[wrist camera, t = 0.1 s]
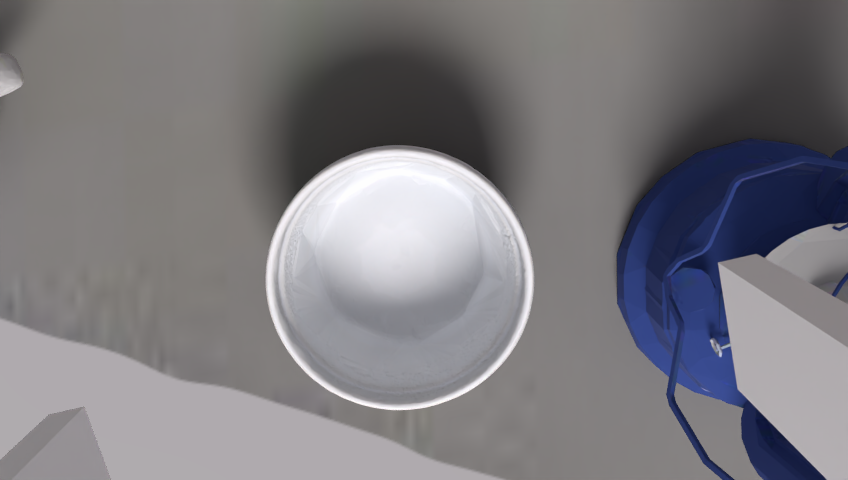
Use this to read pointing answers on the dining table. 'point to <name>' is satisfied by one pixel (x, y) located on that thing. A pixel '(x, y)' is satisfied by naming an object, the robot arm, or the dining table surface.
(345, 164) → the ramekin
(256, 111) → the dining table surface
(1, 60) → the teacup
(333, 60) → the dining table surface
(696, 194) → the lantern
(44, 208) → the dining table surface
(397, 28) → the dining table surface
